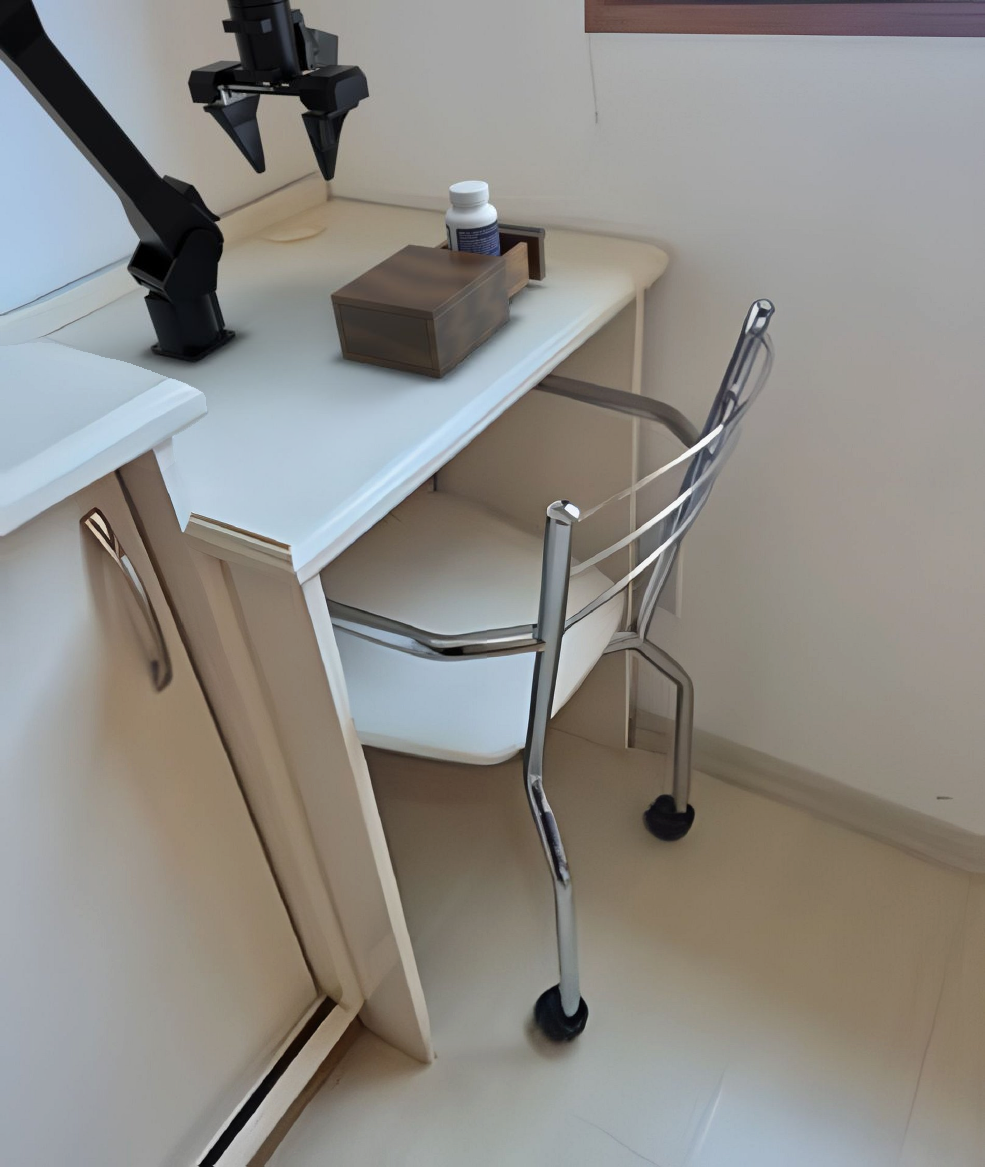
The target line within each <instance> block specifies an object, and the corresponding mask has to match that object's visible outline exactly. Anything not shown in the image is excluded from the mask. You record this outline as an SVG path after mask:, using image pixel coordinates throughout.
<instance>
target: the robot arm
mask: <svg viewBox="0 0 985 1167" xmlns="http://www.w3.org/2000/svg"><path fill="white" fill-rule="evenodd" d="M226 3H227V9H228V12H229V16H230V17H228V18H226V19H222V20H221V23H222V28H223V32H224V34H234V38H235V42H236V47H237V53H238V56H239V60H219V61H216V62H213V63H210V64H206V65H204V66H201V67H197V68H195V69H192V70H191V71H190V73H189V76H188V81H187V86H188V89H189V94H190V97H191V100H192V104H205V105H203V106H202V109H203V112H204V113H208V114H210V115H211V117H212V118H213V119H214V120H215V122H216V123H217V124H218V125H219V127H221V129H223V131H224V132H225V133H226V134H227V136H228V137H229V138H230V139H231V141H232V142H233V144H234V145H235V146H236V147H237V149H238V150H239V152H240V153H241V155H243V157H244V158H245V159H246V161H247V163H249V165H250V166H251V168H252V169H253V170H254V172H255V173H256V174H257V175H258V174H259V175H261V174H263V173H265V172H266V169H267V168H266V159H265V158H266V157H265V152H264V147H263V142H262V137H261V133H260V127H259V123H258V117H257V112H258V107H259V103H260V99H261V95H265V96H281V97H298V98H299V101H300V103H301V104H302V105H303V106H304V108H305V109H306V110H307V111H305V112H302V113H300V116H301V119H302V122H303V125H304V127H305V130H306V133H307V136H308V140H309V141H310V145H311V148H312V151H313V154H314V157H315V160H316V163H317V165H318V166H317V167H318V168H319V172H321V175H322V177H323V179H324V181H326V182H329V181H332V180H334V178H335V174H336V168H337V167H336V166H337V159H338V154H339V153H338V152H339V146H340V139H341V134H342V129H343V126H344V122H345V120H346V118H347V116H348V115H349V113H350V111H352V110H354V109H356V108H358V107H359V104H360V101H363V100H365V99H367V98H370V92H369V86H368V79H367V75H366V74H365V72H364V71H363V70H362V68H360V66H358V65H350V64H349V65H348V64H339V35H337V34H334V33H330V32H327V31H325V30H321V29H316V28H311V27H309V26H306V23H305V19H304V14H303V13H302V12H301V8H292V7H291V2H290V0H226ZM0 61H1V62H2V63H3V64H4V65H5V66H6V67H7V68H8V70H9V71H10V72H11V73H12V75H13V76H14V77H15V78H16V79H17V80H18V81H19V83H20V84H21V85H22V86H23V87H24V88H25V89H26V90H27V92H28V93H29V94H30V96H32V98H33V99H34V100H35V101H36V102H37V103H38V104H39V106H40V107H41V108H42V109H43V110H44V111H45V113H46V114H47V115H48V116H49V117H50V118H51V119H52V121H53V122H54V124H56V126H57V127H58V128H59V129H60V131H62V133H63V134H64V135H65V137H67V138H68V139H69V140H70V142H71V143H72V144H73V146H75V147H76V149H77V150H78V151H79V152H80V154H81V155H82V156H83V157H84V158H85V159H86V161H87V162H88V163H89V164H90V165H91V167H93V168H94V170H95V171H96V172H97V173H98V174H99V175H100V177H101V178H102V180H104V181H105V183H106V184H107V185H108V186H109V188H111V190H112V191H113V192H114V193H115V194H116V196H117V197H118V199H119V201H120V203H121V205H122V208H123V210H124V213H125V216H126V218H127V220H128V223H129V225H130V226H131V227H132V229H133V231H134V232H135V234H136V236H137V238H138V239H139V241H138V243H137V246H136V248H135V250H134V252H133V254H132V256H131V258H130V260H129V262H128V264H127V267H126V270H127V272H128V273H129V274H130V275H131V277H132V278H133V280H134V281H135V282H136V284H138V285H139V286H141V287H144V288H146V289H148V294H147V295H145V296H144V297H143V299H144V302H145V305H146V308H147V311H148V315H149V317H150V320H151V324H152V326H153V329H154V332H155V335H156V338H157V341H158V342H156V343H155V344H153V345H151V346H150V350H151V352H152V353H154V354H159V355H163V356H168V357H172V358H177V359H181V360H185V361H189V362H190V361H191V362H196V361H198V360H200V359H202V358H204V357H205V356H207V355H208V354H210V353H211V352H213V351H215V350H216V349H218V348H220V347H221V346H223V345H225V344H227V343H228V342H229V341H231V340H232V339H234V338H236V337H237V334H236V331H235V330H232V329H227V328H226V323H225V319H224V315H223V312H222V308H221V305H220V302H219V297H218V295H217V290H218V277H219V276H218V275H219V274H218V273H219V262H220V261H221V258H222V256H223V252H224V243H225V238H224V234H223V232H222V231H221V229H220V226H219V225H218V224H217V223H216V222H220V221H221V217H220V216H218V215H217V214H215V213H214V212H212V210H210V209H209V208H208V206H207V205H206V203H205V202H204V199H203V197H202V196H201V194H200V192H199V191H198V189H197V188H196V187H195V185H193V184H191V183H188V182H186V181H183V180H181V179H179V178H176V177H173V176H170V175H168V174H164V175H163V177H161V176H160V175H159V173H158V172H157V171H156V170H155V168H154V167H153V166H152V165H151V163H150V162H149V161H148V160H147V159H146V158H145V156H144V155H143V153H142V152H141V151H140V150H139V149H138V147H137V146H136V145H135V143H133V141H132V140H131V138H130V137H129V136H128V135H127V134H126V133H125V131H124V130H123V129H122V127H121V126H120V125H119V123H118V122H117V121H116V119H114V117H113V116H112V114H110V112H109V111H108V110H107V109H106V107H105V106H104V104H103V103H102V102H101V101H100V100H99V98H98V97H97V96H96V95H95V93H93V92H94V91H92V90H91V88H90V87H89V86H88V85H87V83H85V81H84V80H83V79H82V77H81V76H80V75H79V73H78V72H77V71H76V70H75V69H74V67H73V66H72V65H71V63H70V62H69V61H68V60H67V59H66V57H65V56H64V54H63V53H62V52H61V51H60V49H58V47H57V46H56V45H55V43H54V42H53V41H52V40H51V39H50V37H49V35H48V33H47V32H46V30H45V28H44V25H43V22H42V21H41V18H40V16H39V13H38V11H37V8H36V6H35V4H34V1H33V0H0ZM306 71H307V73H305V74H304V72H306Z"/></svg>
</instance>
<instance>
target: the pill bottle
mask: <svg viewBox="0 0 985 1167" xmlns="http://www.w3.org/2000/svg"><path fill="white" fill-rule="evenodd" d="M448 194H449V201H450V202H449V203H450V204H451V205H452V206H451V207H449V209H447V211H446V213H445V215H444V219H445V230H446V237H447V238H446V239H447V240H448V249H449V250H454V251H462V252H469V253H477V254H484V255H492V256H499V257H500V245H499V231H498V223H499V220H498V212H497V210H496V208H495V207H494V206H493V205H492V204H491V203H488V202H489V200H490V192H489V184H488V183H487V182H485V181H483V180H482V181H481V180H464V181H460V182H456V183H454V184H452V185H450V186H449V188H448Z"/></svg>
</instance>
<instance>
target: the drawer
mask: <svg viewBox="0 0 985 1167" xmlns="http://www.w3.org/2000/svg"><path fill="white" fill-rule="evenodd" d="M498 231H499V245H500V257H505V258H506V272H507V286H508V300H509V299H510V298H512V297H513V296H514V295H516V294H517V293H518V292H519V291H520V290H522V289H523V288H524V287H525V286H527V284H529V283H530V280H531V281H539V282H541V281H543V280H545V278H546V277H547V276H546V254H545V239H546V229H545V228H544V227H536V226H528V225H518V224H510V223H501V222H498ZM433 248H439V249H447V250H449V249H448V240H447V238H446V239H445V240H444V241H442V242H440V243H439V244H437V245H436V246H434V247H433Z"/></svg>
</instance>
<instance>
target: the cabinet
mask: <svg viewBox="0 0 985 1167" xmlns="http://www.w3.org/2000/svg"><path fill="white" fill-rule="evenodd" d="M330 299H331V305H332V310H333V315H334V319H335V325H336V330H337V335H338V340H339V345H340V349H341V355H342V359H345V360H349V361H355V362H358V363H364V364H369V365H375V366H378V367H383V368H389V369H392V370H393V369H394V370H398V371H403V372H408V373H414V374H417V375H423V376H428V377H432V378H437V379H442V378H443V377H444V376H445V375H446V374H448V373H449V372H450V371H451V370H452V369H454V368H455V367H456V366H457V365H458V364H459V363H461V362H462V361H463V360H464V359H465V358H467V357H468V356H469V355H470V354H472V352H474V351H475V350H476V349H477V348H479V346H481V345H483V343H484V342H486V341H487V340H488V339H489V338H491V337H492V336H493V335H494V334H495V333H497V332H498V331H499V330H500V329H501V328H502V327H504V326H505V325H506V324H507V323H508V322H510V321H511V315H510V305H509V304H510V302H509V299H508V286H507V272H506V258H505V257H499V256H492V255H484V254H477V253H469V252H462V251H454V250H447V249H439V248H434V247H430V246H424V245H417V244H416V245H415V244H408V245H406V246H405V247H403V248H401V249H400V250H397V252H395V253H394V254H392V255H390V256H389V257H387V258H386V259H384V260H383V261H381V262H379V263H378V264H376V265H375V266H373V267H372V268H370V269H368V270H367V271H365V272H364V273H363V274H361V275H359V276H357V277H356V278H355V279H353V280H351V281H350V282H348V283H347V284H344V285H343V286H342V287H340V288H339V289H337V290H336V291H334V292H333V293H331V294H330Z"/></svg>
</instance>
